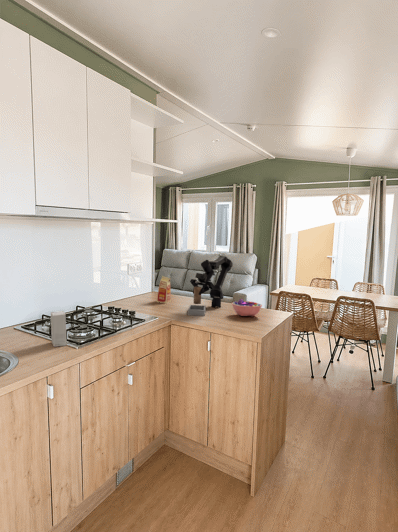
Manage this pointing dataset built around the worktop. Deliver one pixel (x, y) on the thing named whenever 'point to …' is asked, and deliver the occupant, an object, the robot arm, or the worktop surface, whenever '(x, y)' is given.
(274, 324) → the worktop surface
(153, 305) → the worktop surface
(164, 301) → the milk carton
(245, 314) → the cell model
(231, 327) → the worktop surface
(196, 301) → the walnut cylinder
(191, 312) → the box
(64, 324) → the skincare box
